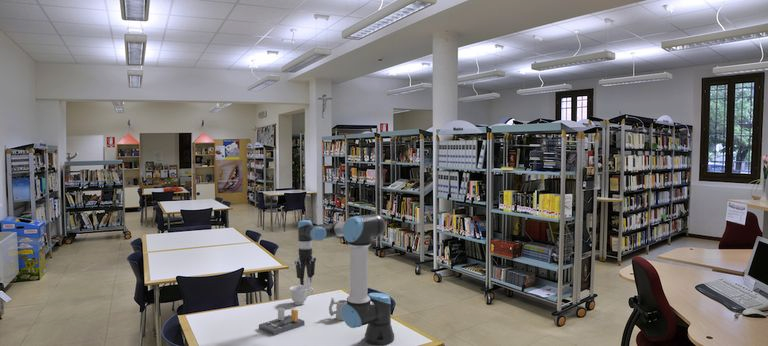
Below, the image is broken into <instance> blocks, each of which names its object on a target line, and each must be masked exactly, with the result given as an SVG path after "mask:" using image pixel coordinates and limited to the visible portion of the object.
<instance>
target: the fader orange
mask: <svg viewBox="0 0 768 346" xmlns="http://www.w3.org/2000/svg"><path fill="white" fill-rule="evenodd" d="M290 315H291V320H292V321H295V322H296V321H298V319H299V311H298V309H295V308H291V310H290Z"/></svg>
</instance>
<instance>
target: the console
mask: <svg viewBox="0 0 768 346" xmlns="http://www.w3.org/2000/svg"><path fill="white" fill-rule="evenodd" d="M304 326H305V320H304V319H301V318H298V321H296V322H295V321H292V320H291V314H288V315H284V320H282V321H281V320H279V319H278V318H275V319H272V320H269V321H266V322H262V323H259V324H258V330H260V331H262V332H264V333H266V334H268V335H271V336H273V337H274V336H277V335H281V334H282V333H283V334H284V333H286V332H289V331H291V330H294V329H298V328H300V327H304Z"/></svg>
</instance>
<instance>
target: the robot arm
mask: <svg viewBox="0 0 768 346" xmlns="http://www.w3.org/2000/svg"><path fill="white" fill-rule="evenodd" d="M386 225H387V223H386V221H385V219H384V218H383V217H382V216H381V215H380V214H374V213H373V214H363V215H354V216H351V217H348V218H347V219H346V220H345V221H344V222H343V221H342V222H341V221H340V222H335V223H328V224H321V225H320V224H319V225H313V222H312V220H309V219H304V220H298V222H297V236H298V239H297V240H298V242H297V243H298V245H297V246H298V260H295V261H294V264H295V271H296V278H297V279H299V285H301V290H303V291H305V286H307V289H308V290H309V289H310V290H312V289H311V288H312V287H311V286H312V285H311V284H312V278H313V276H314V275H315V269H316V268H315V267H316V260H317V259H316V258H315V257H313V256H312V255H313V241H316V242H321V241H323V240H325V239H329V238H330V239H332V238H337V237H338V238H339V237H343V238H344V240H345V241H347V245H348V246H349V248H350V255H349V256H350V257H349V258H350V265H349V267H350V268H349V269H350V270H349V276H350V277H349V295H348V296H347V297H346V300H347V304H346V305H344V306H343V307H342V310H341V313H342V318H343V320H344V323H345V324H346V326H347V327H348V328H351V329H355V328H360V327H363V326H365V325H367V326H366V330H365V333H364V340H365V342H366V343H368V344H370V345H376V346H381V345H384V346H385V345H389V344H390V343H392V342H394V340H395V332H394V331H393V326H392V320H391V319H392V318H391V317H392V316H391V315H392V314H391V313H392V312H391V311H392V309H391V308H392V307H391V306H392V303H391V296H390V295H388V294H386V293H381V292H369V293H368V291H369V290H368V289H369V288H368V286H369V282H368V280H369V279H368V278H369V277H368V276H369V247H370V246H371V245H372V240H373V239H375V238H378V237H380V236H382V234H384V232H385V231H386V227H387V226H386ZM305 270H306V273H305ZM305 274H306V275H307V276H306V278H305Z"/></svg>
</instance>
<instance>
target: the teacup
mask: <svg viewBox="0 0 768 346" xmlns="http://www.w3.org/2000/svg"><path fill="white" fill-rule="evenodd" d="M289 290H290V296H291V300H292V302H294V304H295V305H297V306H301V305H304V303H305V302H306V301H307V298H308V297H309V296H312V294H314V288H313V287H311V289H307V285H305V291H303V290H301V284H298V285H292V286H290V287H289ZM310 290H311V292H310ZM308 292H310V293H308Z"/></svg>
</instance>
